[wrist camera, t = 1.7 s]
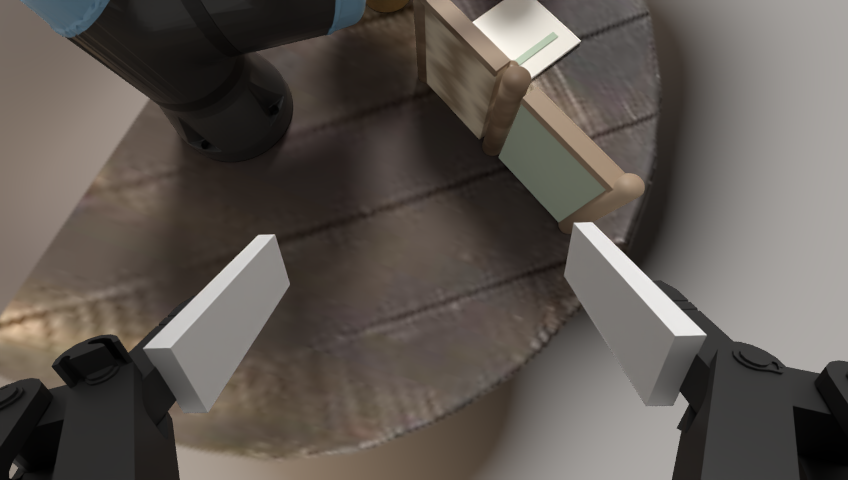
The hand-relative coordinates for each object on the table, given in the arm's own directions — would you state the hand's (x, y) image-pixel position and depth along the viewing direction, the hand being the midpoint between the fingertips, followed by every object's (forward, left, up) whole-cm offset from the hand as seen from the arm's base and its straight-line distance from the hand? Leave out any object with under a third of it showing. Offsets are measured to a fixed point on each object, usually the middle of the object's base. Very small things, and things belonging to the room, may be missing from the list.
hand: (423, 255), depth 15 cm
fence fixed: (-19, +15, -25) cm, 35 cm away
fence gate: (-4, +18, -24) cm, 30 cm away
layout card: (-24, +27, -25) cm, 44 cm away
